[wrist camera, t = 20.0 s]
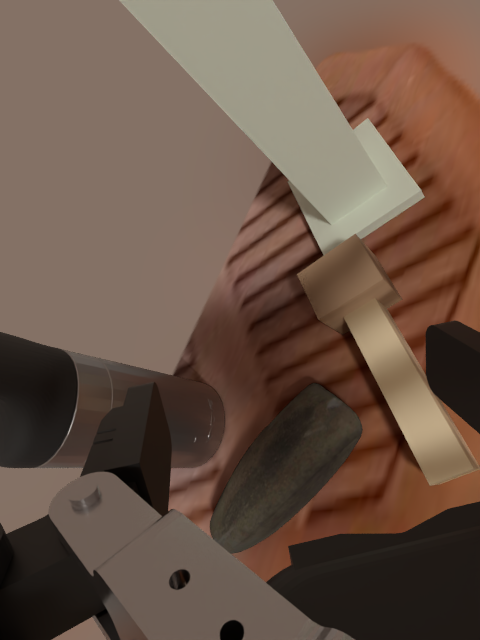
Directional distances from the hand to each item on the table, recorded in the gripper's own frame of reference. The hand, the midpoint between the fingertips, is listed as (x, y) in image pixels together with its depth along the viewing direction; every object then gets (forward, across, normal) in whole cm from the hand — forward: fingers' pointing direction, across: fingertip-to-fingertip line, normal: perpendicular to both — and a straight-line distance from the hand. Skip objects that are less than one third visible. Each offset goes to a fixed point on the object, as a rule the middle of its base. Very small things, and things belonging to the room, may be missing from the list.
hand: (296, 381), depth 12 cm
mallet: (+19, -12, +11) cm, 25 cm away
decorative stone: (+19, -2, +20) cm, 28 cm away
